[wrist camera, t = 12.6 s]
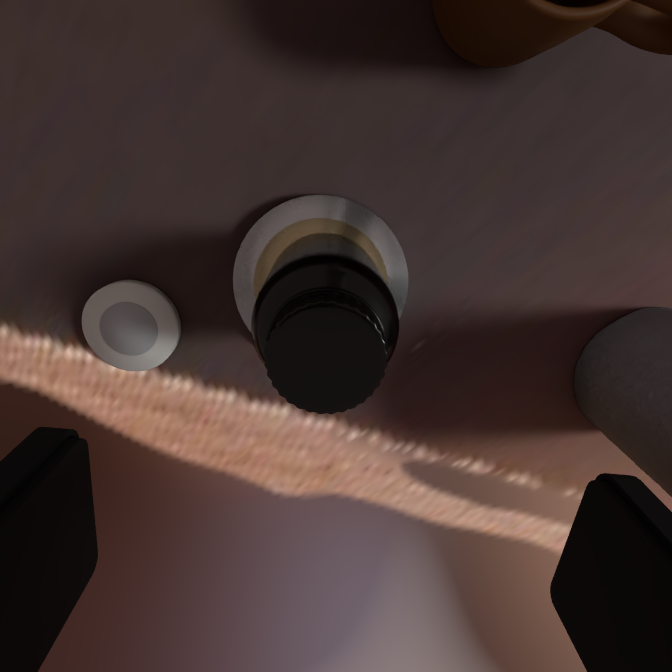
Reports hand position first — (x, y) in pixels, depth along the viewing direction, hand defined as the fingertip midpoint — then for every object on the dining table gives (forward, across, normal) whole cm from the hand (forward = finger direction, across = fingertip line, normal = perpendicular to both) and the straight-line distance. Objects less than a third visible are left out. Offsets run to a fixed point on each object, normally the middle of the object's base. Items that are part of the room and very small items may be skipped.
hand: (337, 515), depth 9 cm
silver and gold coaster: (+22, 0, +1) cm, 22 cm away
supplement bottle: (+21, 0, +1) cm, 21 cm away
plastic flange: (+22, +12, +5) cm, 26 cm away
